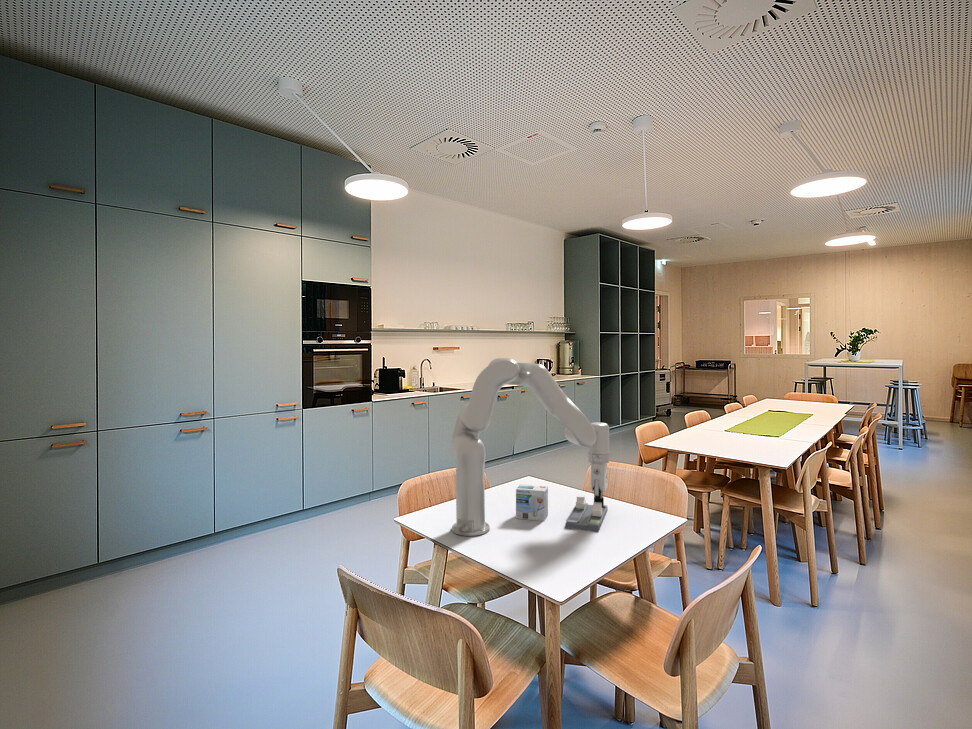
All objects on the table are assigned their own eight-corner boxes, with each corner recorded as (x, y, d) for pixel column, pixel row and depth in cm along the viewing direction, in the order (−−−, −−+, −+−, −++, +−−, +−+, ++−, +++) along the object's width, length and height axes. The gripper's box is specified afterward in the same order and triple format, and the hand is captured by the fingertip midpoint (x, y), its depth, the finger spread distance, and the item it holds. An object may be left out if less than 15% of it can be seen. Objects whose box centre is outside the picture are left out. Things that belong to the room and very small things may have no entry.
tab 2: (601, 516, 173) (601, 505, 173) (592, 515, 174) (592, 504, 174) (602, 513, 177) (602, 502, 177) (594, 512, 178) (593, 501, 178)
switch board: (599, 531, 164) (599, 525, 164) (565, 527, 168) (565, 521, 168) (607, 510, 186) (607, 504, 186) (577, 507, 190) (577, 502, 190)
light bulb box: (515, 518, 178) (515, 488, 178) (519, 513, 184) (519, 483, 184) (545, 521, 175) (545, 490, 175) (548, 515, 181) (548, 485, 181)
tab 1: (584, 509, 182) (583, 498, 182) (575, 508, 183) (575, 497, 183) (585, 505, 186) (585, 495, 186) (577, 505, 187) (577, 494, 187)
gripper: (606, 462, 170) (607, 516, 171) (611, 454, 184) (611, 503, 185) (584, 461, 173) (584, 514, 173) (591, 452, 187) (591, 501, 187)
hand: (598, 508), depth 179 cm, fingers closed
